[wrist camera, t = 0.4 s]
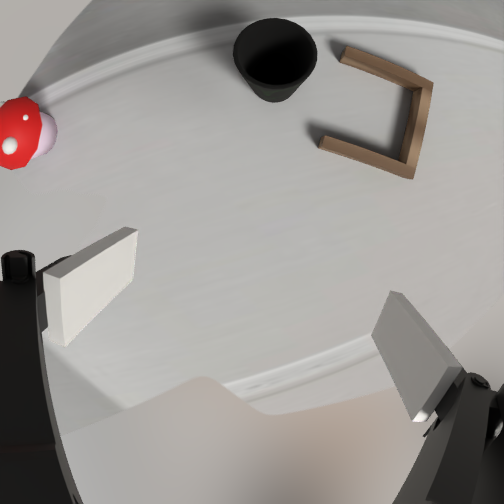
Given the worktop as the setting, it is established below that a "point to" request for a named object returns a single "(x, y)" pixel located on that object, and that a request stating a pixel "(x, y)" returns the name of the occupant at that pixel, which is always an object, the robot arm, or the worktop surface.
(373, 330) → the robot arm
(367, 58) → the wooden u-shaped bracket
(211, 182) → the worktop surface
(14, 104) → the mushroom
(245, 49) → the cup
